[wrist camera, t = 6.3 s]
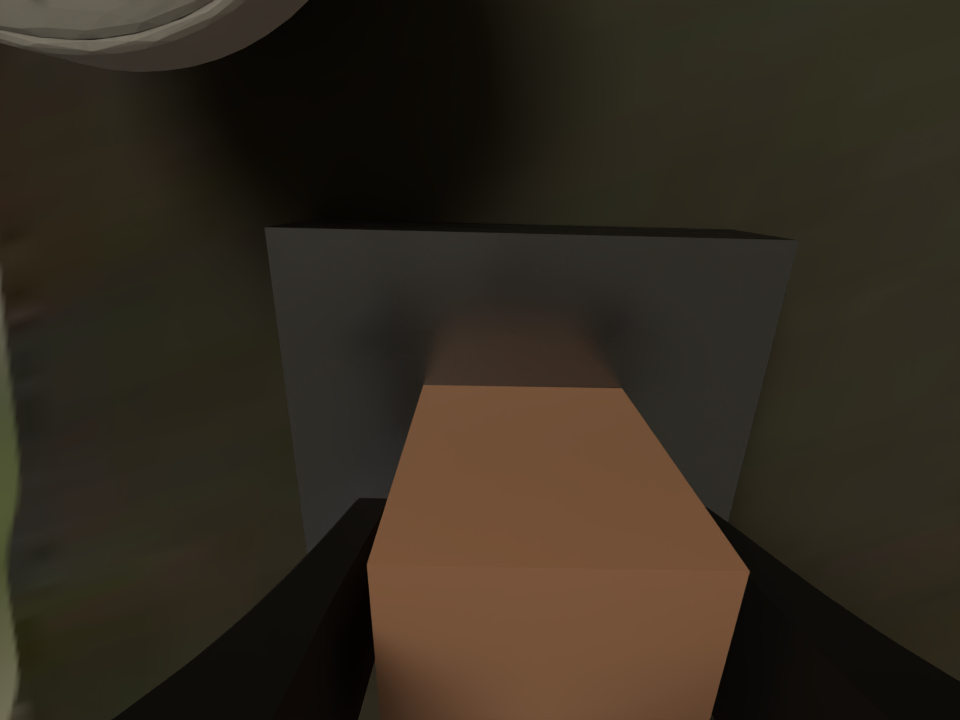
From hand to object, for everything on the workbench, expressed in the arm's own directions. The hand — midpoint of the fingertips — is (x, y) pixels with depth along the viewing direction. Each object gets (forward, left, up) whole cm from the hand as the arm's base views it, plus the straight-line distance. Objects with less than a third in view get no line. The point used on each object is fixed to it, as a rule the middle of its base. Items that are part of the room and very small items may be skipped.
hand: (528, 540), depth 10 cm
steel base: (0, 0, -6) cm, 6 cm away
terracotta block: (0, 0, -3) cm, 3 cm away
